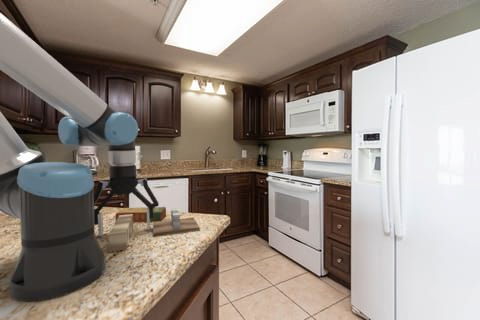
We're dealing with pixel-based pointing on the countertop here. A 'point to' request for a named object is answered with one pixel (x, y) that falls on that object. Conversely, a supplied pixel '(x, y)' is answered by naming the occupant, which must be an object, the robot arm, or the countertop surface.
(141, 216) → the carton
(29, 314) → the countertop surface
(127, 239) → the beam
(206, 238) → the countertop surface
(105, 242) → the countertop surface
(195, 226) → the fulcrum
